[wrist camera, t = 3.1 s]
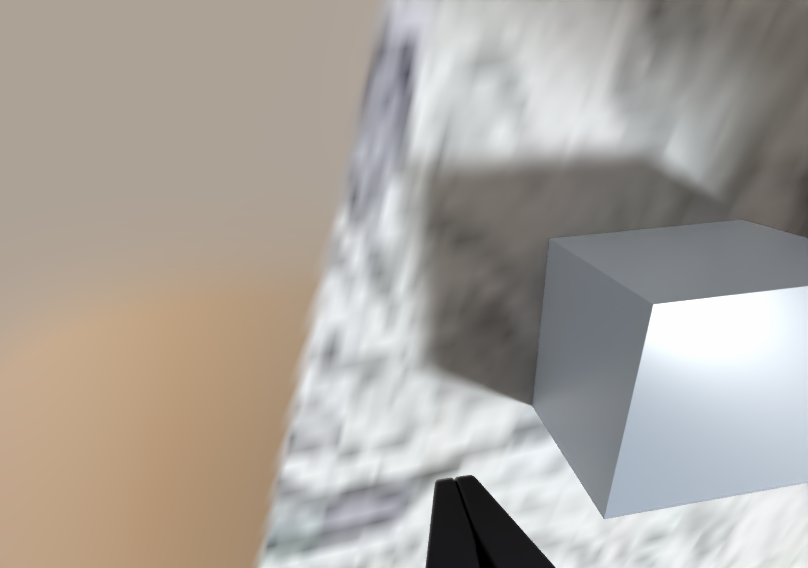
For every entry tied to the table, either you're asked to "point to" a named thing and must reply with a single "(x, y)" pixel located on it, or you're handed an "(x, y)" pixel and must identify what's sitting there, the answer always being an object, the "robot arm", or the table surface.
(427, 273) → the table surface
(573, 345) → the blue-gray block
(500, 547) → the robot arm
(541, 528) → the table surface
